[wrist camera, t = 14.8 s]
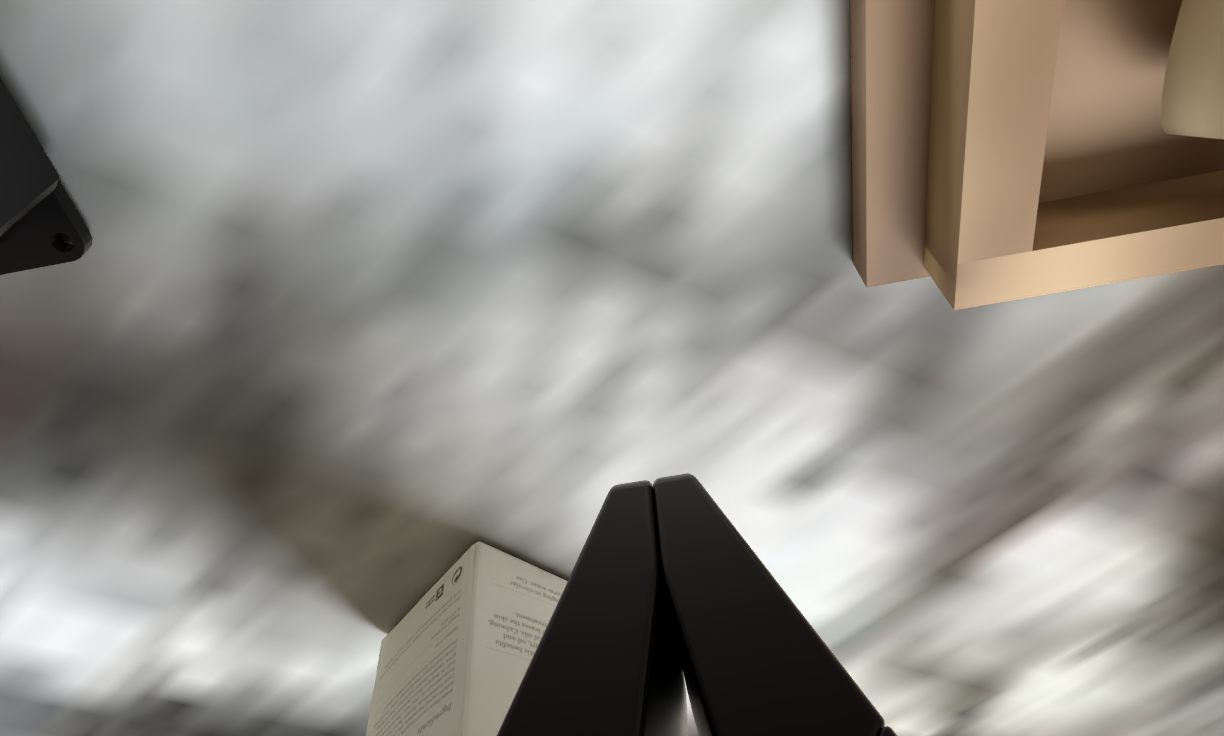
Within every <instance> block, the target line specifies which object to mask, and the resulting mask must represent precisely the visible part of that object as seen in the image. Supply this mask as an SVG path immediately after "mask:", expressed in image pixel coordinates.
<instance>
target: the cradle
mask: <svg viewBox="0 0 1224 736" xmlns="http://www.w3.org/2000/svg"><path fill="white" fill-rule="evenodd" d="M1182 1H1183V0H850V46H851V119H852V192H853V264H854V266H855V267H856V269H857V271H858V273H859V275H860V276H861V278H862V280H863V282H864V283H865V285H866V287H872V286H878V285H883V284H889V283H895V282H901V281H906V280H912V279H918V278H923V277H929V276H931V278H932V279H933V280H934V282H935V283H936V285H937V286H938V288H939V289H940V290H941V292H942V293H943V295H944V296H945V298H946V299H947V300H948V302H949V303H950V305H951V306H952V308H953V309H954V310H958V309H964V308H970V307H976V306H982V305H988V304H993V303H999V302H1005V301H1011V300H1017V299H1023V298H1028V297H1034V296H1040V295H1046V294H1052V293H1058V292H1063V291H1069V290H1075V289H1081V288H1087V287H1093V286H1098V285H1104V284H1110V283H1116V282H1122V281H1128V280H1133V279H1139V278H1145V277H1151V276H1157V275H1163V274H1168V273H1174V272H1180V271H1186V270H1192V269H1198V268H1203V267H1209V266H1215V265H1221V264H1224V139H1215V138H1204V137H1194V136H1183V135H1173V134H1167V133H1165V132H1164V130H1163V127H1162V120H1161V105H1162V93H1163V85H1164V78H1165V72H1166V66H1167V61H1168V56H1169V51H1170V46H1171V42H1172V38H1173V34H1174V30H1175V26H1176V22H1177V18H1178V15H1179V11H1180V8H1181V4H1182Z"/></svg>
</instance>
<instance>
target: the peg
mask: <svg viewBox="0 0 1224 736" xmlns="http://www.w3.org/2000/svg"><path fill="white" fill-rule="evenodd" d="M1161 120H1162V127H1163V130H1164V132H1165V133H1167V134H1173V135H1183V136H1194V137H1204V138H1215V139H1224V0H1183V1H1182V4H1181V8H1180V11H1179V15H1178V18H1177V22H1176V26H1175V30H1174V34H1173V38H1172V42H1171V46H1170V51H1169V56H1168V61H1167V66H1166V72H1165V78H1164V85H1163V93H1162V105H1161Z"/></svg>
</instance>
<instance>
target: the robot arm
mask: <svg viewBox="0 0 1224 736" xmlns="http://www.w3.org/2000/svg"><path fill="white" fill-rule="evenodd" d="M58 179H59V176H58V173H57V172H56V170H55V168H54V167H53V165H52V163H51V162H50V160H49V158H48V157H47V155H46V153H45V152H44V150H43V148H42V147H41V145H40V143H39V142H38V140H37V138H36V137H35V135H34V133H33V132H32V130H31V128H30V127H29V125H28V123H27V122H26V120H25V118H24V117H23V115H22V113H21V112H20V110H19V108H18V106H17V105H16V103H15V101H14V100H13V98H12V96H11V95H10V93H9V91H8V90H7V88H6V86H5V85H4V83H3V81H2V80H1V78H0V275H2V274H7V273H12V272H18V271H23V270H28V269H34V268H39V267H44V266H49V265H55V264H60V263H65V262H71V261H75V260H77V259H79V258H81V257H82V256H83V255H84V254H85V252H86V251H87V250H88V249H89V248H90V247H91V245H92V237H91V234H90V231H89V230H88V228H87V226H86V225H85V223H84V221H83V220H82V218H81V216H80V215H79V213H78V211H77V210H76V208H75V206H74V205H73V203H72V201H71V200H70V198H69V196H68V195H67V193H66V191H65V190H64V188H63V186H62V185H61V183H60V181H59V180H58ZM59 233H62V234H64V235H67V236H68V237H69V238H70V239H71V240H72V242H73V244H69V243H66V242H64V241H63V240H62V239H61V238H60V236H59ZM684 677H685V680H684ZM685 682H686V686H687V691H688V695H689V699H690V703H691V708H692V712H693V716H694V720H695V723H696V727H697V731H698V734H699V736H897V735H896V734H895V732H894V731H893V730H892V729H891V728H890V727H888V726H886V727H884V719H883V718H882V716H881V715H880V714H879V712H878V711H877V710H876V709H875V707H874V706H873V705H872V703H871V702H870V701H869V700H868V698H867V697H866V696H865V694H864V693H863V692H862V691H861V689H860V688H859V687H858V685H857V684H856V683H855V682H854V680H853V679H852V678H851V676H850V675H849V674H848V673H847V671H846V670H845V669H844V667H843V666H842V665H841V664H840V662H839V661H838V660H837V658H836V657H835V656H834V655H833V653H832V652H831V651H830V649H829V648H828V647H827V646H826V644H825V643H824V642H823V640H822V639H821V638H820V637H819V635H818V634H817V633H816V631H815V630H814V629H813V628H812V626H811V625H810V624H809V622H808V621H807V620H806V619H805V617H804V616H803V615H802V613H801V612H800V611H799V610H798V608H797V607H796V606H795V604H794V603H793V602H792V601H791V599H790V598H789V597H788V595H787V594H786V593H785V591H784V590H783V589H782V588H781V586H780V585H779V584H778V582H777V581H776V580H775V579H774V577H773V576H772V575H771V573H770V572H769V571H768V570H767V568H766V567H765V566H764V564H763V563H762V562H761V561H760V559H759V558H758V557H757V555H756V554H755V553H754V552H753V550H752V549H751V548H750V546H749V545H748V544H747V543H746V541H745V540H744V539H743V537H742V536H741V535H740V534H739V532H738V531H737V530H736V528H735V527H734V526H733V525H732V523H731V522H730V521H729V519H728V518H727V517H726V516H725V514H724V513H723V512H722V510H721V509H720V508H719V507H718V505H717V504H716V503H715V501H714V500H713V499H712V498H711V496H710V495H709V494H708V492H707V491H706V490H705V489H704V487H703V486H702V485H701V483H700V482H699V481H698V480H697V478H696V477H694V476H693V475H691V474H682V475H675V476H669V477H663V478H658V479H656V480H655V481H654V484H653V486H652V484H651V483H650V482H649V481H638V482H632V483H626V484H620V485H615V486H614V487H612V488H611V489H610V491H609V493H608V495H607V497H606V499H605V501H604V503H603V506H602V508H601V510H600V512H599V514H598V516H597V519H596V521H595V523H594V525H593V527H592V530H591V532H590V534H589V536H588V538H587V540H586V543H585V545H584V547H583V549H582V551H581V553H580V556H579V558H578V560H577V562H576V564H575V566H574V569H573V571H572V573H571V575H570V577H569V579H568V582H567V584H566V586H565V588H564V590H563V592H562V595H561V597H560V599H559V601H558V603H557V606H556V608H555V610H554V612H553V614H552V616H551V619H550V621H549V623H548V625H547V627H546V629H545V632H544V634H543V636H542V638H541V640H540V642H539V645H538V647H537V649H536V651H535V653H534V655H533V658H532V660H531V662H530V664H529V666H528V668H527V671H526V673H525V675H524V677H523V679H522V682H521V684H520V686H519V688H518V690H517V692H516V695H515V697H514V699H513V701H512V703H511V705H510V708H509V710H508V712H507V714H506V716H505V718H504V721H503V723H502V725H501V727H500V729H499V731H498V734H497V736H688V733H687V704H686V689H685Z"/></svg>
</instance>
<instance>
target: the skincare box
mask: <svg viewBox="0 0 1224 736" xmlns="http://www.w3.org/2000/svg"><path fill="white" fill-rule="evenodd" d="M567 582H568V581H566V580H564V579H562V578H560V577H557V576H555V575H553V574H551V573H549V572H546V571H544V570H542V569H540V568H538V567H535V566H533V565H531V564H529V563H527V562H525V561H522V560H520V559H518V558H516V557H513V556H511V555H509V554H507V553H504V552H502V551H500V550H498V549H496V548H494V547H491V546H489V545H487V544H485V543H482V542H476V543H475V544H473V545H472V546H471V547H470V548H469V549H468V550H467V551H466V552H465V553H464V554H463V555H462V556H461V558H460V559H459V560H458V561H457V562H456V563H455V564H454V565H453V566H452V567H451V568H450V569H449V570H448V571H447V572H446V573H445V574H444V575H443V576H442V577H441V578H440V579H439V581H438V582H437V583H436V584H435V585H434V586H433V587H432V588H431V589H430V590H429V591H428V592H427V593H426V594H425V595H424V596H423V597H422V599H421V600H420V601H419V602H418V603H417V604H416V605H415V606H414V607H413V608H412V609H411V610H410V612H409V613H408V614H407V615H406V616H405V617H404V618H403V619H402V620H401V621H400V622H399V623H398V624H397V625H396V626H395V627H394V628H393V629H392V631H391V632H390V633H389V634H388V635H387V636H386V637H385V638H384V639H383V640H382V643H381V649H380V654H379V661H378V667H377V674H376V681H375V686H374V691H373V696H372V702H371V709H370V715H369V721H368V727H367V733H366V736H497V734H498V731H499V729H500V727H501V725H502V723H503V721H504V718H505V716H506V714H507V712H508V710H509V708H510V705H511V703H512V701H513V699H514V697H515V695H516V692H517V690H518V688H519V686H520V684H521V682H522V679H523V677H524V675H525V673H526V671H527V668H528V666H529V664H530V662H531V660H532V658H533V655H534V653H535V651H536V649H537V647H538V645H539V642H540V640H541V638H542V636H543V634H544V632H545V629H546V627H547V625H548V623H549V621H550V619H551V616H552V614H553V612H554V610H555V608H556V606H557V603H558V601H559V599H560V597H561V595H562V592H563V590H564V588H565V586H566V584H567Z"/></svg>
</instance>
